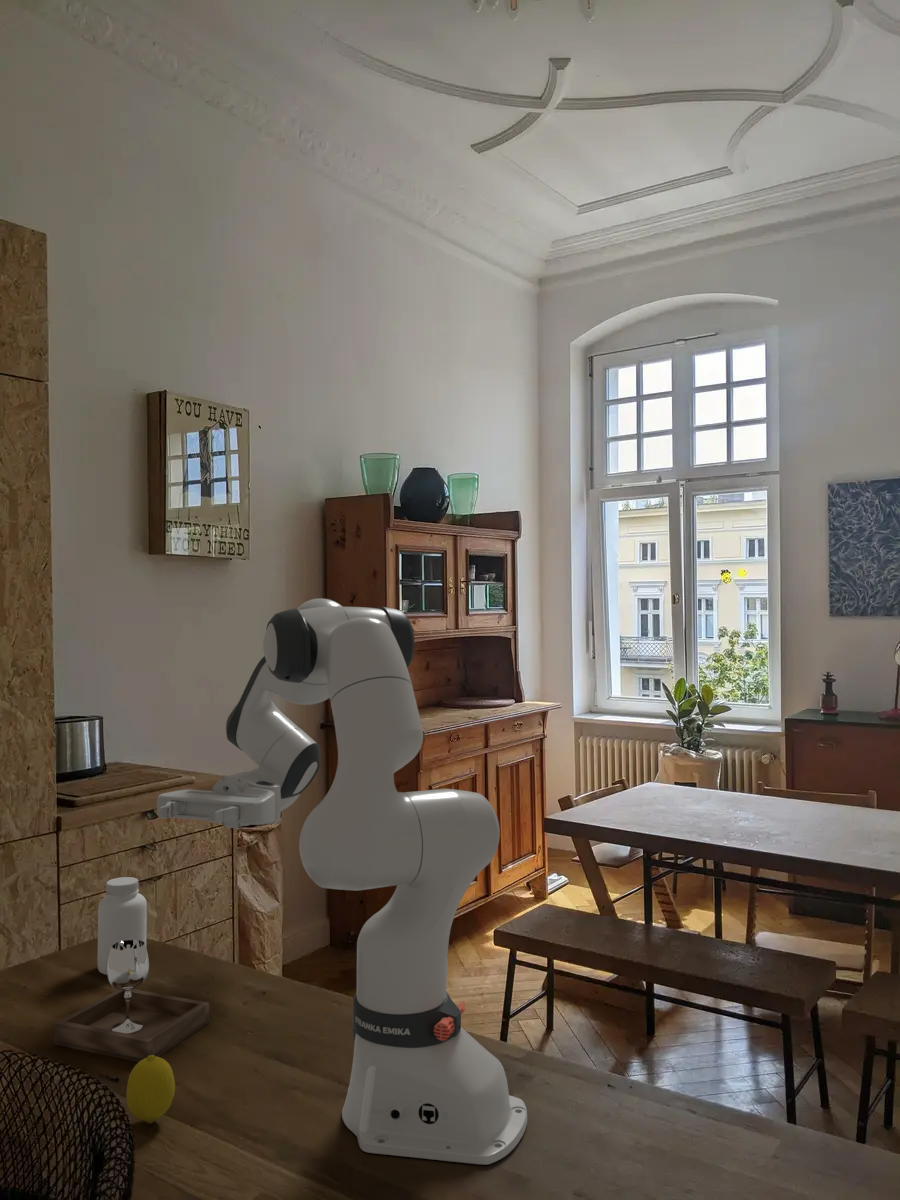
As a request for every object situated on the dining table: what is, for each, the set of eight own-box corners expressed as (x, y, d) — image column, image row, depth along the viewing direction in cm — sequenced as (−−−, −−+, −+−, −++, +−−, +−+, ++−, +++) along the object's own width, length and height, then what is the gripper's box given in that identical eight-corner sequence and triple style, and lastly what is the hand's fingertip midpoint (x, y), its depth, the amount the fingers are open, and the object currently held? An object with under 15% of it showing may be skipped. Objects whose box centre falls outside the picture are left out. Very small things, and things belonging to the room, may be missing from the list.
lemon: (157, 1106, 117) (157, 1040, 117) (183, 1121, 113) (184, 1054, 113) (116, 1124, 113) (117, 1056, 113) (143, 1140, 109) (144, 1071, 109)
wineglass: (156, 1025, 139) (157, 942, 139) (124, 1039, 134) (125, 954, 134) (130, 1016, 142) (131, 935, 142) (97, 1030, 137) (98, 946, 137)
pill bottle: (87, 975, 159) (89, 886, 160) (112, 958, 167) (113, 873, 167) (131, 978, 158) (132, 888, 158) (154, 961, 166) (155, 875, 166)
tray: (209, 1023, 141) (209, 1002, 141) (147, 1064, 128) (147, 1041, 128) (122, 1006, 146) (122, 987, 147) (54, 1044, 133) (55, 1023, 133)
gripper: (186, 778, 166) (133, 791, 153) (288, 785, 158) (242, 799, 145) (186, 814, 165) (133, 830, 153) (288, 823, 158) (241, 840, 145)
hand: (187, 815), depth 149 cm, fingers open, 8 cm apart
